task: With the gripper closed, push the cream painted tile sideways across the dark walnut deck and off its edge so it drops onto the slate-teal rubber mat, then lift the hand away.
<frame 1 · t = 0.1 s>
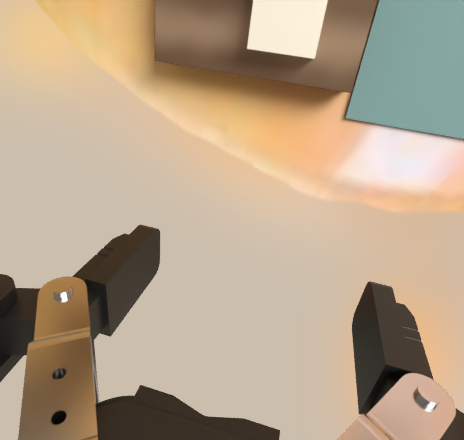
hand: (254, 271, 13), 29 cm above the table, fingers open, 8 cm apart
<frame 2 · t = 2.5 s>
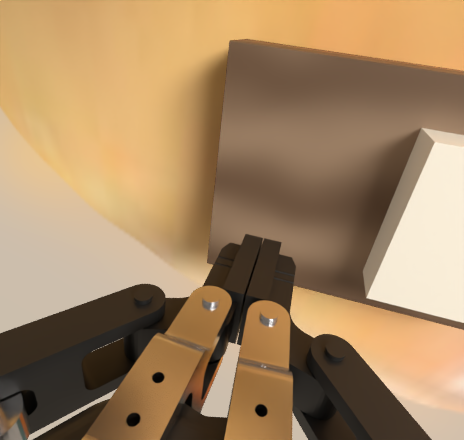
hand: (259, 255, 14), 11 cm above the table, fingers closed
deck: (379, 181, 22), on the table
tile: (445, 220, 18), point 4 cm above the table, touching deck
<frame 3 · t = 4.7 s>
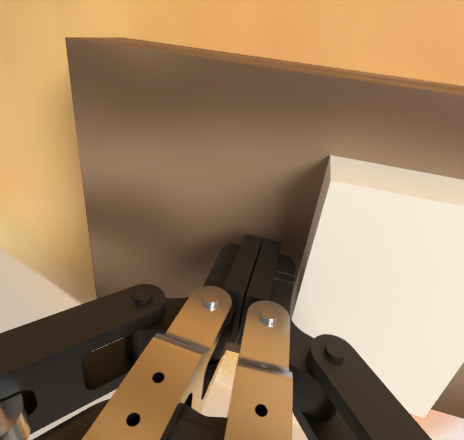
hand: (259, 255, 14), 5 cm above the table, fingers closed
deck: (302, 212, 18), on the table
tile: (375, 273, 14), point 4 cm above the table, touching deck, gripper
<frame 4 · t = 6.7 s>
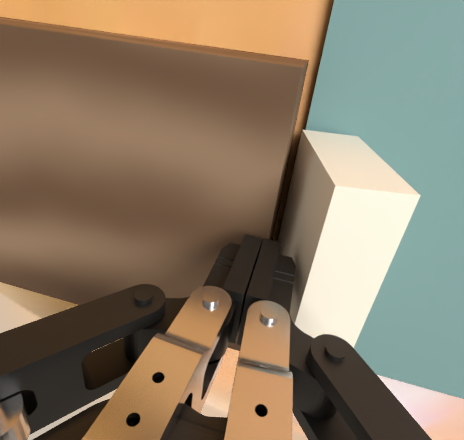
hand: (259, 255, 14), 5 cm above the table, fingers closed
deck: (108, 168, 19), on the table
tile: (290, 252, 14), point 4 cm above the table, tilted 103°, touching gripper, mat
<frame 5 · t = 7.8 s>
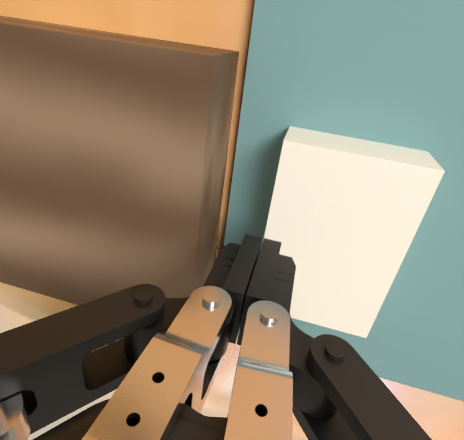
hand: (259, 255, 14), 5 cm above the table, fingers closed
deck: (60, 158, 20), on the table
mat: (404, 233, 17), on the table
tile: (329, 251, 15), point 3 cm above the table, tilted 180°, touching mat
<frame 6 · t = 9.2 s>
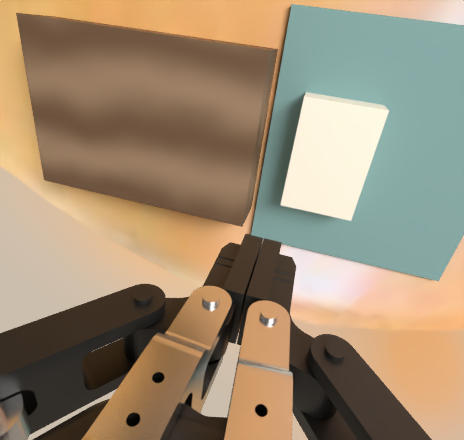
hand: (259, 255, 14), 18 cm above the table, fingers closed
deck: (157, 117, 31), on the table
mat: (373, 158, 28), on the table
tile: (329, 162, 26), point 3 cm above the table, tilted 180°, touching mat
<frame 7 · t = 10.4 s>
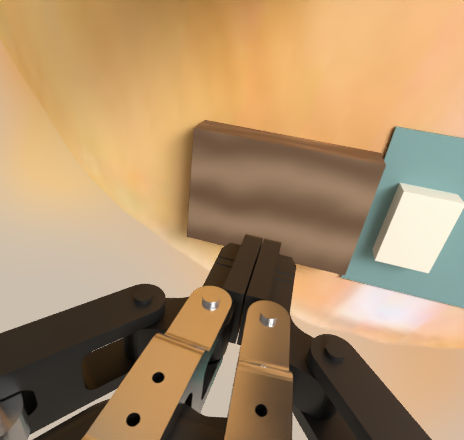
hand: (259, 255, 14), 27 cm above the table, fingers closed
deck: (277, 191, 41), on the table
mat: (445, 227, 38), on the table
tile: (416, 234, 37), point 3 cm above the table, tilted 180°, touching mat
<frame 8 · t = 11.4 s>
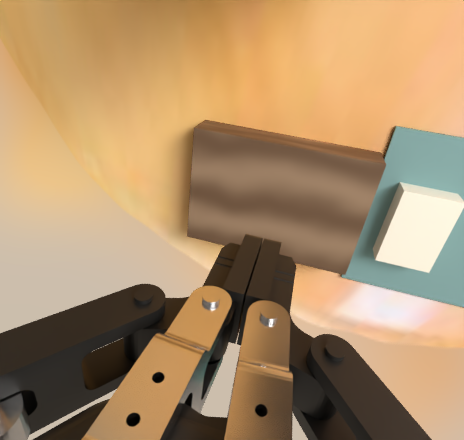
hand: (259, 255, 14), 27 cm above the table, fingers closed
deck: (278, 191, 41), on the table
mat: (445, 227, 38), on the table
tile: (417, 233, 37), point 3 cm above the table, tilted 180°, touching mat
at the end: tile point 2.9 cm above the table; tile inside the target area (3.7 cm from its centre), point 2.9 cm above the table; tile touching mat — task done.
